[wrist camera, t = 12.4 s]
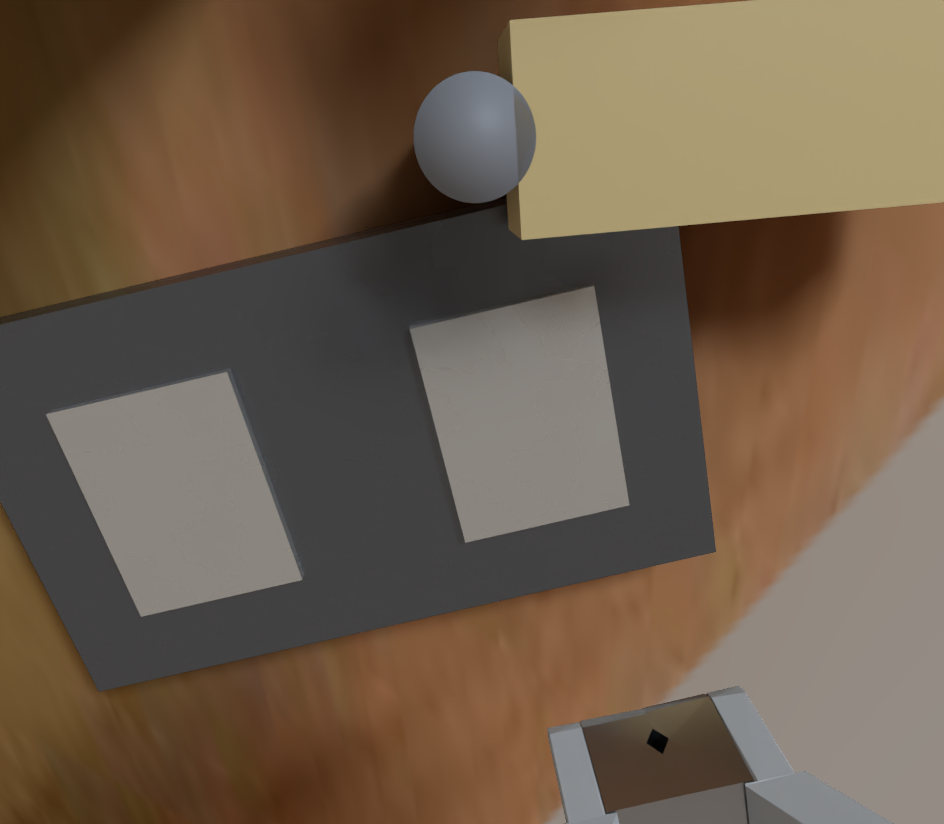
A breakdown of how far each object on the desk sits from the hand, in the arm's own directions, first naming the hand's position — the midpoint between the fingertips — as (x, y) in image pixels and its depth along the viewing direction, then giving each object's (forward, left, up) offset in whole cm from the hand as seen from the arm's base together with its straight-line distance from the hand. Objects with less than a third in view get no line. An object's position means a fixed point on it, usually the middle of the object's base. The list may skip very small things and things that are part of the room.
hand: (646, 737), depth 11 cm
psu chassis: (-2, -6, -17) cm, 18 cm away
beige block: (-8, +7, -13) cm, 17 cm away
